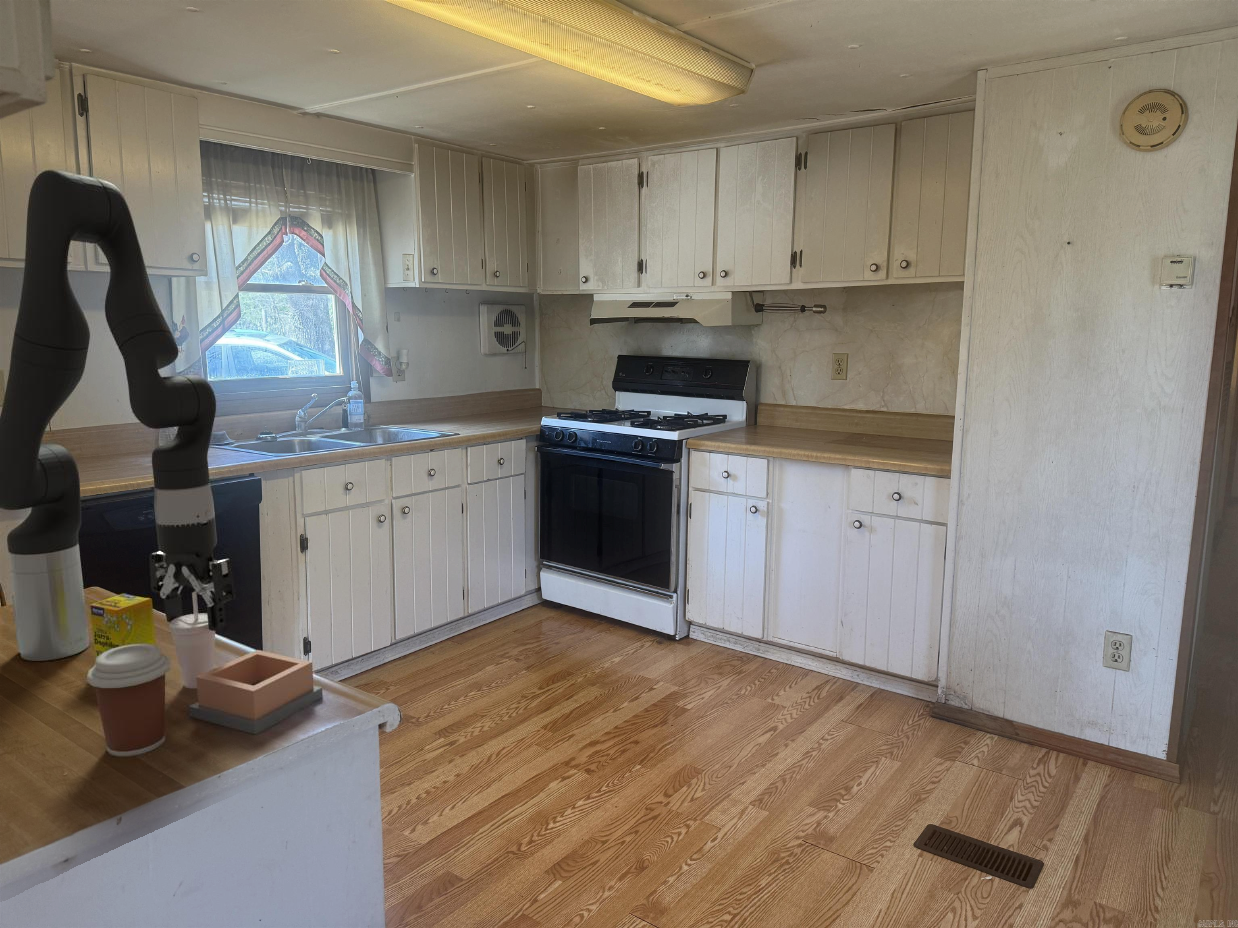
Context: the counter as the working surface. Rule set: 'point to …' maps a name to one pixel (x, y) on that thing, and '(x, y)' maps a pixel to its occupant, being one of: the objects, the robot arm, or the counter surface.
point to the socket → (255, 691)
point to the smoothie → (193, 644)
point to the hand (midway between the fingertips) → (195, 624)
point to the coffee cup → (131, 697)
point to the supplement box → (122, 622)
